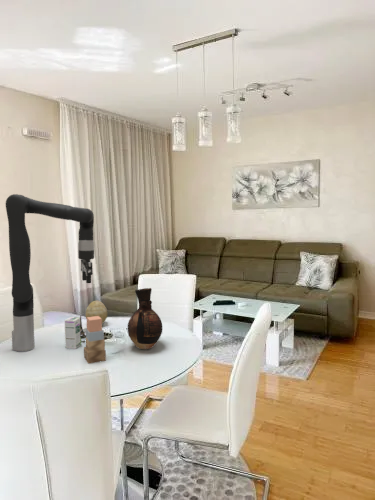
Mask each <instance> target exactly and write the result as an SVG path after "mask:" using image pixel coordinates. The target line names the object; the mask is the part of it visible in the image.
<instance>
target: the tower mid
mask: <svg viewBox="0 0 375 500" xmlns="http://www.w3.org/2000/svg"><path fill="white" fill-rule="evenodd" d="M85 340H86V341H85V347H86V349H87V350H88V351H89V353H90V352H97V351H103V350H106V344H105V343H106V341H105V338H104V340H97V341H90V342H89V341H88V339H87V338H85Z"/></svg>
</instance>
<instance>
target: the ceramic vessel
mask: <svg viewBox="0 0 375 500" xmlns="http://www.w3.org/2000/svg"><path fill="white" fill-rule="evenodd" d="M134 293H135V295H136V298H137V301H138V308H137V309H136V310H135V311H134V313H133V314H132V315H131V317H130V318H129V320H128V323H127V334H128V337H129V339H130V341H131V342H132V343H133V344H134V347H137V348H138V349H140V350H151V349H152V348H154V346H156V345H157V343H158V342H159V340H160V339H161V336H162V334H163V322H162V320H161V317H160V316H159V314H158V313H157V312H156V311H155V310H154V309H153V307H152V303H153V301H152V300H151V298H152V297H151V295H152V288H151V287H149V288H148V287H147V288H146V287H145V288H139V289H135V290H134Z"/></svg>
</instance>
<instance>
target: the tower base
mask: <svg viewBox="0 0 375 500" xmlns="http://www.w3.org/2000/svg"><path fill="white" fill-rule="evenodd" d="M106 351H107V350H106V349H105V350H103V351H97V352H90V353H89V351H88V350H87V349H86V346H84V347H83V358H84V360H85V362H87V364H94V363H100V361H101V362H105V361H106V360H107V357H106V356H107V355H106Z"/></svg>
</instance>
